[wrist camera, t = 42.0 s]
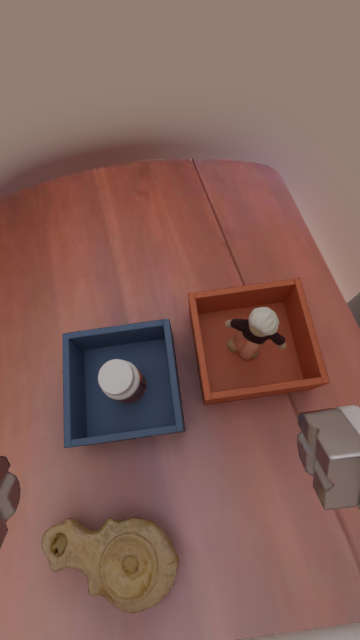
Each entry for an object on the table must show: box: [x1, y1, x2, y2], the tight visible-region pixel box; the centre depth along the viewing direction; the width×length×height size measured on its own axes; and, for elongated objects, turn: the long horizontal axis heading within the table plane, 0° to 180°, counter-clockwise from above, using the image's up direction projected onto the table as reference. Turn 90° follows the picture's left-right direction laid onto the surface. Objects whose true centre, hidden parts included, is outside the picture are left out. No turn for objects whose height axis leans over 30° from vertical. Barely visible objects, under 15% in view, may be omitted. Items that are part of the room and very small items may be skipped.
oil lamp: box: [41, 518, 179, 613], centre depth 36 cm, size 11×14×5 cm
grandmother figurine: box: [225, 307, 286, 360], centre depth 39 cm, size 8×4×13 cm, turn 77°
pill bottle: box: [98, 359, 147, 404], centre depth 40 cm, size 5×5×8 cm
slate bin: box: [63, 319, 185, 448], centre depth 42 cm, size 14×14×7 cm
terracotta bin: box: [188, 278, 330, 405], centre depth 43 cm, size 15×14×7 cm
